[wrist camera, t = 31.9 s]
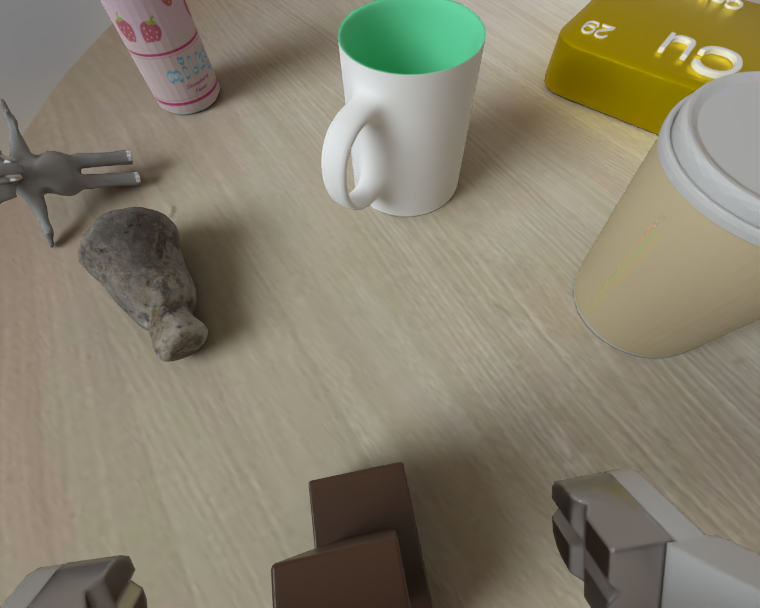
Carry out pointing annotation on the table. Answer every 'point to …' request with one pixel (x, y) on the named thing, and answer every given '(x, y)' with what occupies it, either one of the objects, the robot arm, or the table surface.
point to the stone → (146, 276)
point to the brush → (357, 547)
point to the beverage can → (166, 52)
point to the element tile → (651, 54)
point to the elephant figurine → (54, 173)
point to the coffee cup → (683, 231)
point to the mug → (403, 104)
